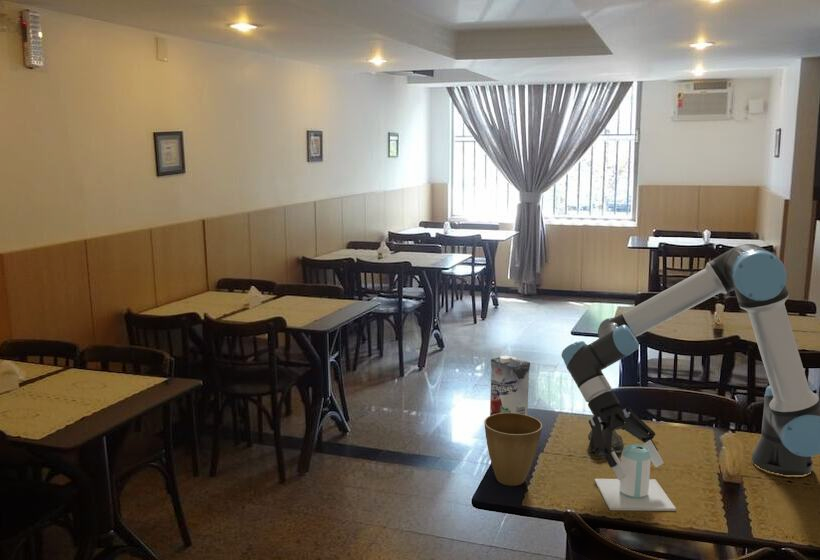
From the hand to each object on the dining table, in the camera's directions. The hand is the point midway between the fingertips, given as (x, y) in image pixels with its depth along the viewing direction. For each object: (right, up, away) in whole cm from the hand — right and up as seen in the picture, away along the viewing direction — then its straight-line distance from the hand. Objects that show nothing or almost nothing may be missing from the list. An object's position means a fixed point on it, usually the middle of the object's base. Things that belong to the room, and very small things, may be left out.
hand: (642, 471), depth 189 cm
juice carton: (-29, -1, +35) cm, 45 cm away
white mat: (-1, -7, +3) cm, 8 cm away
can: (-1, -6, +3) cm, 7 cm away
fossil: (-1, -2, +31) cm, 31 cm away
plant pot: (-31, -5, +11) cm, 34 cm away
